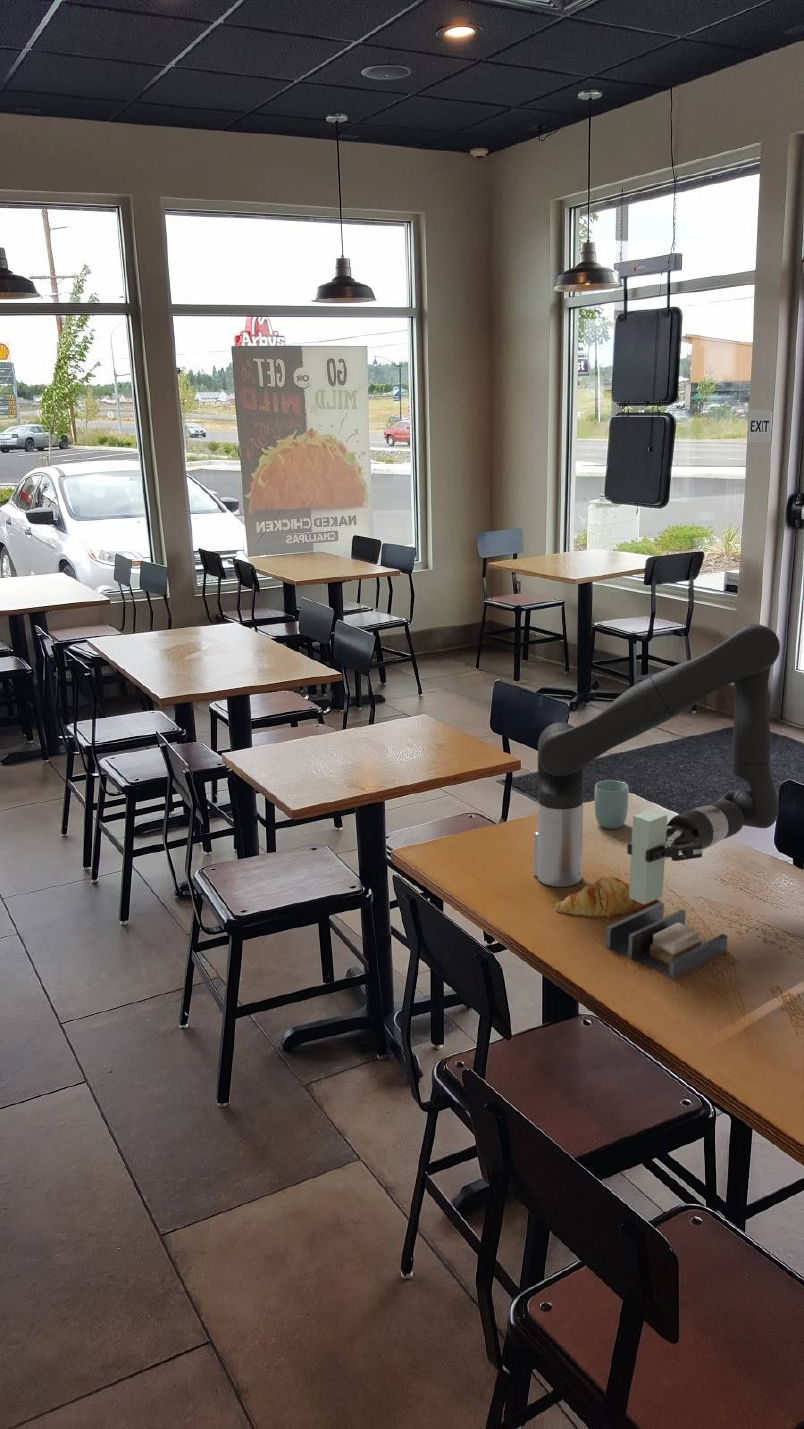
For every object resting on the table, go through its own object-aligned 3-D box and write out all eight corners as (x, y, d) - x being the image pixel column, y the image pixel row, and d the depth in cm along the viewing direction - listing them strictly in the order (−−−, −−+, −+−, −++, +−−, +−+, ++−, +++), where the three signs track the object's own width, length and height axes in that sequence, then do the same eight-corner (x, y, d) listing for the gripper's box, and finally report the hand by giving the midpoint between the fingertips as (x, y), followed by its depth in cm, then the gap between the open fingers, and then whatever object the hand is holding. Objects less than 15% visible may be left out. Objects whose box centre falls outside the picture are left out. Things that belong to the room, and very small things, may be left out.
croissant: (561, 938, 209) (567, 914, 204) (545, 897, 216) (551, 872, 211) (662, 922, 213) (671, 898, 208) (643, 882, 220) (651, 857, 215)
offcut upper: (652, 944, 193) (653, 934, 192) (677, 932, 197) (678, 922, 196) (673, 954, 189) (674, 944, 189) (698, 941, 193) (699, 931, 193)
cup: (627, 832, 250) (628, 792, 247) (593, 831, 251) (594, 790, 248) (627, 820, 257) (629, 780, 254) (594, 818, 258) (595, 779, 256)
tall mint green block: (628, 897, 196) (633, 815, 191) (646, 889, 199) (651, 809, 194) (644, 904, 193) (649, 821, 189) (662, 896, 196) (667, 814, 192)
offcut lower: (649, 955, 193) (650, 945, 193) (677, 940, 198) (678, 931, 197) (672, 965, 189) (672, 955, 189) (700, 951, 194) (701, 940, 193)
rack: (605, 951, 197) (606, 924, 195) (658, 926, 206) (659, 899, 204) (673, 984, 185) (674, 955, 184) (726, 955, 194) (728, 928, 193)
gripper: (668, 799, 206) (608, 821, 196) (731, 821, 196) (671, 845, 185) (666, 836, 208) (606, 859, 198) (728, 859, 198) (668, 885, 187)
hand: (638, 853), depth 192 cm, fingers closed on tall mint green block, 3 cm apart
